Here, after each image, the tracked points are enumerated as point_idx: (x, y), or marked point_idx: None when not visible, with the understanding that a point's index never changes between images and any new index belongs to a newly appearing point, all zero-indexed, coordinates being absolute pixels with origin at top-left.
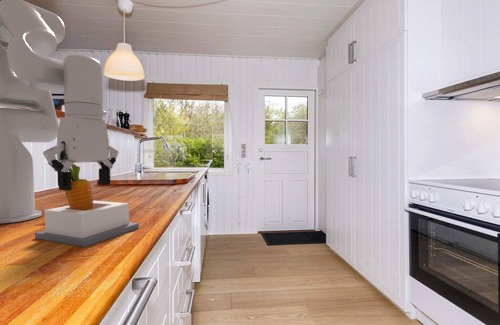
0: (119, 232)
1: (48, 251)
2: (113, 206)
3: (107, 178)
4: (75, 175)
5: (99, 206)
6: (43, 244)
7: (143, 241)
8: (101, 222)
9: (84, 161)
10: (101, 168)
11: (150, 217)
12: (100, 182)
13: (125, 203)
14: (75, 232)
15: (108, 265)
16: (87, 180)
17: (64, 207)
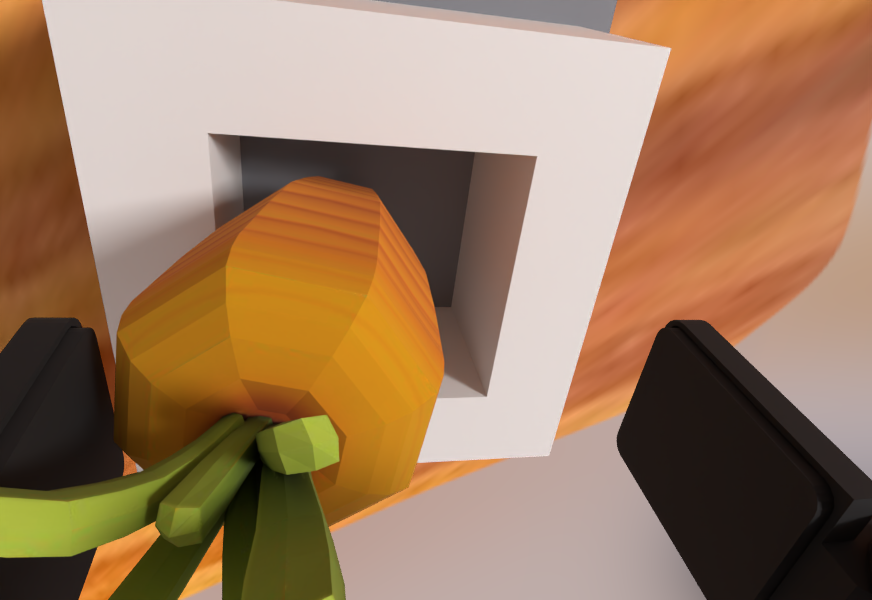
0: None
1: (8, 284)
2: (422, 456)
3: (652, 508)
4: (225, 552)
5: (506, 245)
6: (47, 124)
7: (334, 524)
8: None
9: None
10: (820, 550)
11: (746, 278)
12: (665, 359)
13: (539, 443)
14: None
15: (86, 593)
16: (399, 490)
17: (247, 90)
